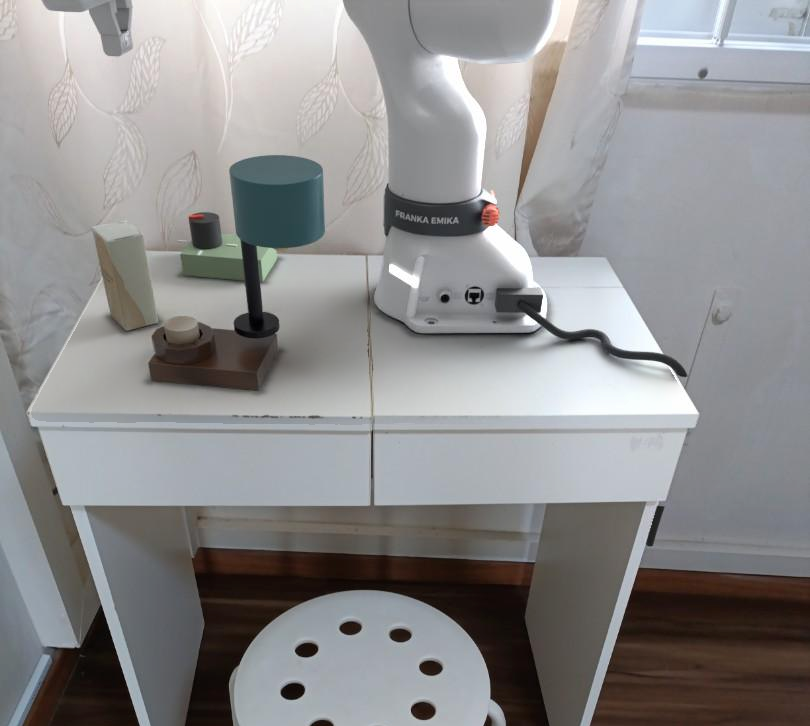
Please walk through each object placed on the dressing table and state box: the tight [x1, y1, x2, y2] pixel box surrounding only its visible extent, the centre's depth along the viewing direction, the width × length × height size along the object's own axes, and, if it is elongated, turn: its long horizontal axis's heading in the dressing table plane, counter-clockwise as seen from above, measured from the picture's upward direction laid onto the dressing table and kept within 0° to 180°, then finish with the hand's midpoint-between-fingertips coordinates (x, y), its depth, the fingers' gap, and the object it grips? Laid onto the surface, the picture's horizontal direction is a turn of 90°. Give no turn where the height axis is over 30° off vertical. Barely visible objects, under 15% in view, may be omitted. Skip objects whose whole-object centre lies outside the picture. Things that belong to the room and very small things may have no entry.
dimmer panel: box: [177, 233, 278, 283], centre depth 109 cm, size 13×8×3 cm, turn 83°
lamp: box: [228, 154, 326, 338], centre depth 83 cm, size 10×9×17 cm
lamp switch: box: [163, 315, 200, 344], centre depth 87 cm, size 4×4×2 cm
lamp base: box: [147, 321, 279, 391], centre depth 89 cm, size 12×9×4 cm
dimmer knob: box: [188, 211, 222, 249], centre depth 107 cm, size 4×4×4 cm
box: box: [91, 219, 159, 332], centre depth 94 cm, size 5×4×11 cm
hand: (119, 53), depth 76 cm, fingers closed
